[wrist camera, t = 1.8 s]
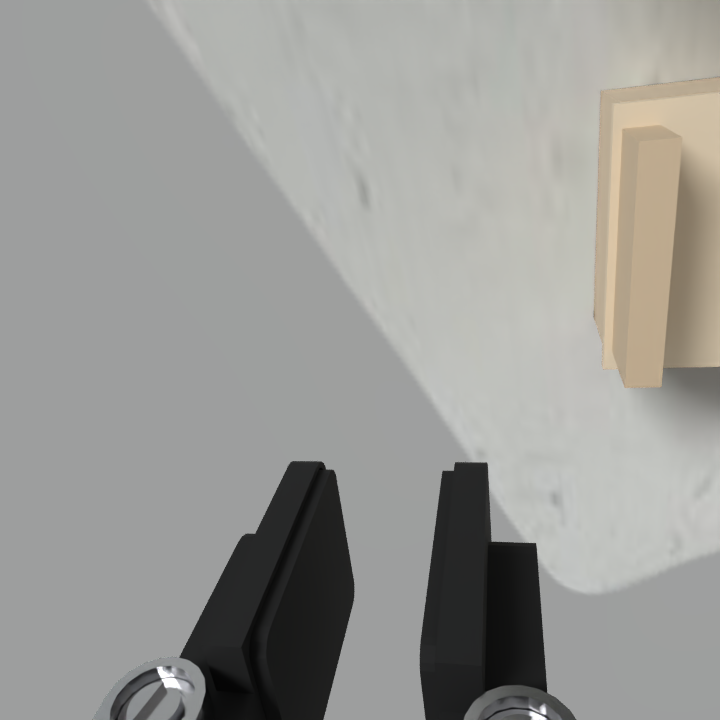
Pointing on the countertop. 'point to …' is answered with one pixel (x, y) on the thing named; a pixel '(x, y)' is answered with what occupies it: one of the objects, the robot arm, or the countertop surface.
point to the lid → (663, 238)
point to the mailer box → (604, 164)
